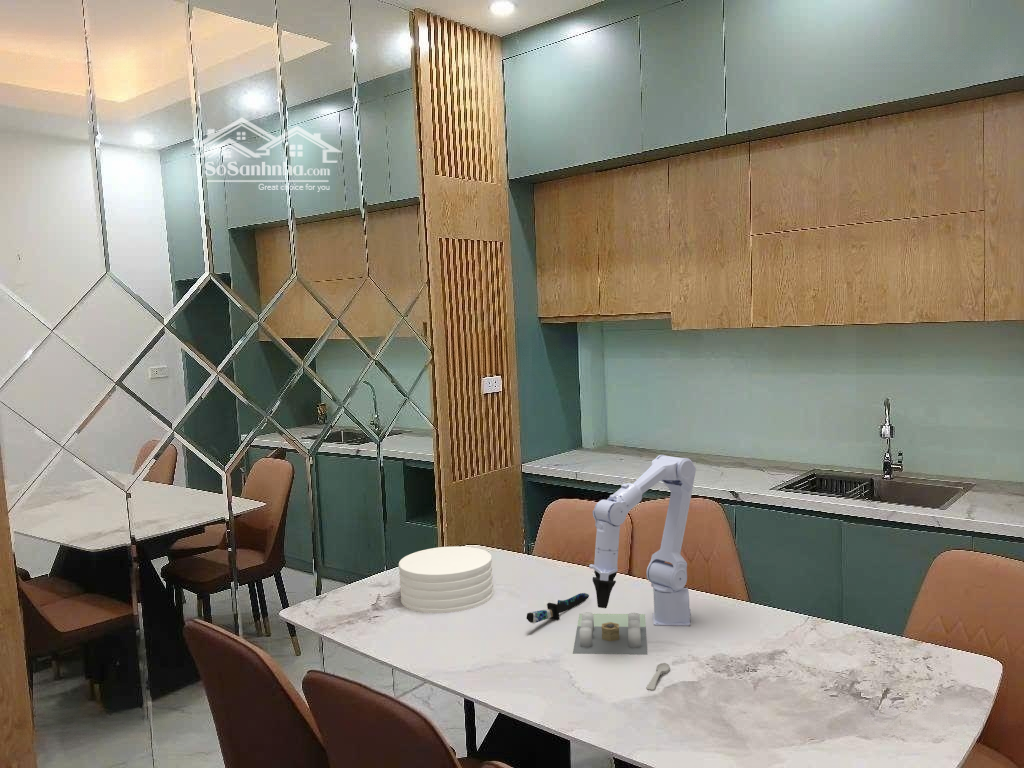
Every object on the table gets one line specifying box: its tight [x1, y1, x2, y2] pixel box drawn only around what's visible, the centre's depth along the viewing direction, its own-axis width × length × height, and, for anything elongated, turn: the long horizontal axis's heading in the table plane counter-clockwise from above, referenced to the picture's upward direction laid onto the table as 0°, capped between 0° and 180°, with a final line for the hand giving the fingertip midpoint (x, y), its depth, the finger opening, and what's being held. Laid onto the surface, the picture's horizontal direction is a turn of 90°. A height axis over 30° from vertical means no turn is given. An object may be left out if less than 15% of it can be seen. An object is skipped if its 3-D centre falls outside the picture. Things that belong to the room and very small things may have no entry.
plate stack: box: [398, 545, 494, 614], centre depth 233 cm, size 28×28×12 cm
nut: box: [602, 622, 619, 641], centre depth 196 cm, size 4×5×3 cm
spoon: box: [646, 662, 671, 692], centre depth 173 cm, size 3×12×2 cm, turn 152°
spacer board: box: [572, 612, 649, 656], centre depth 199 cm, size 18×26×4 cm
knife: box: [526, 592, 590, 624], centre depth 213 cm, size 31×3×4 cm, turn 140°
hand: (602, 603), depth 191 cm, fingers open, 7 cm apart
